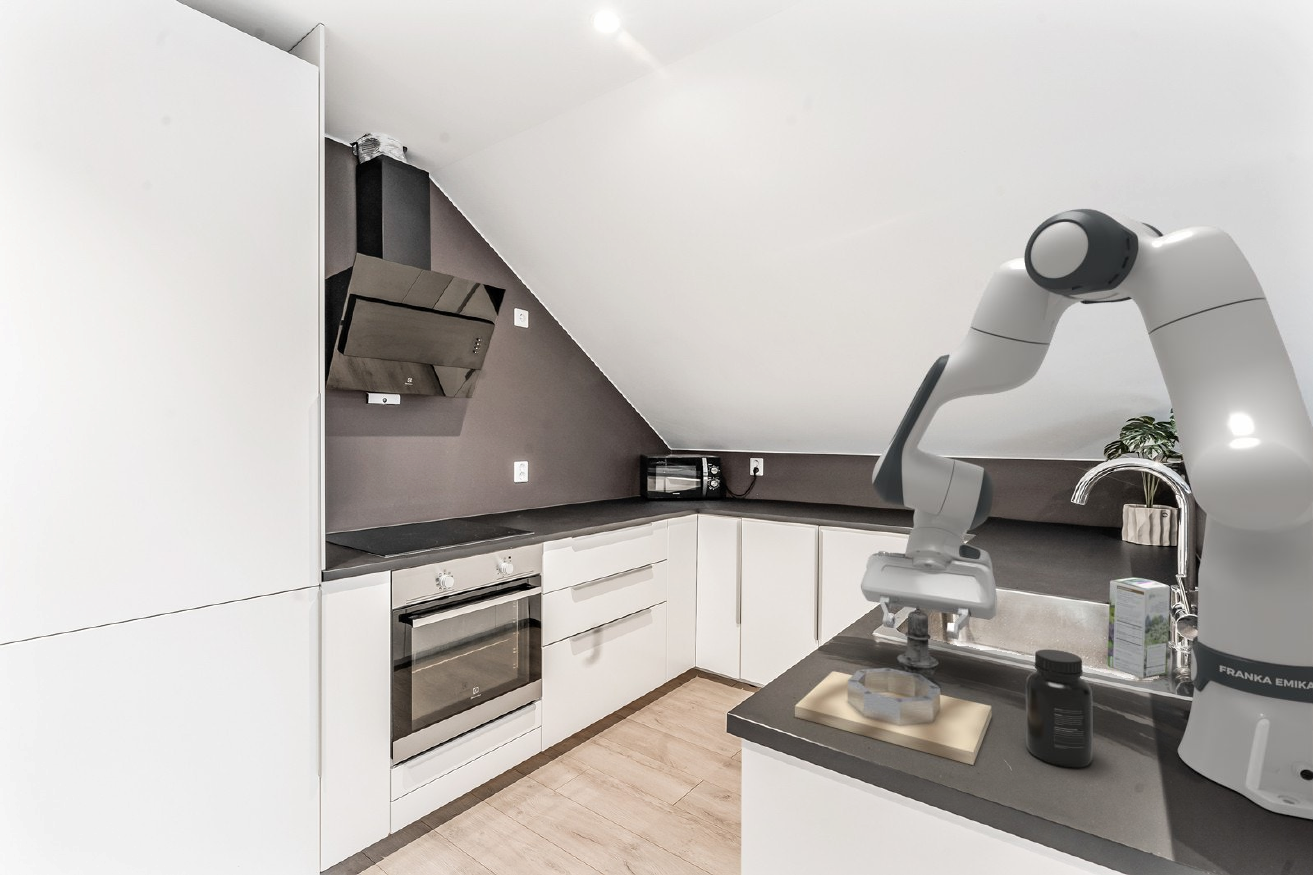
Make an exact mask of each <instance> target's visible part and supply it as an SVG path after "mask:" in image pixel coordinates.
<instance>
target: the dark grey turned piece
mask: <svg viewBox="0 0 1313 875" xmlns="http://www.w3.org/2000/svg"><path fill="white" fill-rule="evenodd" d="M915 609H916V610H913V611H910V612H909V613H908V615H907V631H906V632H905V633H904V635H905V637H906V639H907V640H906V642H907V643H906V651H905V653H901V654H899V655H898V656H897V658H896V659H897V661H898V662H899V663H898V664H899V668H900V669H901V670H900V671H905V672H909V673H914V674H919V675H922V676H923V677H925V678H926V679H928V680H929V681H931V682H932V683H934V684H935V685H937V683H936V682H935V681H934V680H933V679H931V677H932V676H933V675H935V672H936V670H937V667H938V666H939V661H938V660H937V659H936V658H934V657H933V656H931V655H930V651H929V640H930V639H931V635H930V634H929V616H928V615H927V614H926V613H925V612H923V611H922V610H921V609H920V607H919V606H917V607H916V608H915Z"/></svg>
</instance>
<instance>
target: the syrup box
mask: <svg viewBox="0 0 1313 875" xmlns="http://www.w3.org/2000/svg"><path fill="white" fill-rule="evenodd" d="M1170 593H1171V587H1170V586H1169V585H1168V584H1164V583H1161V582H1160V581H1159V582H1158V581H1156V580H1151V579H1146V578H1141V577H1128V578H1121V579H1112V580H1110V582H1109V604H1108V606H1109V610H1108V635H1107V636H1108V640H1107V641H1108V642H1107V666H1108V667H1109V668H1111V669H1114V670H1116V671H1119V672H1123V673H1124V674H1127V675H1132V676H1134V677H1137V678H1141V679H1142V680H1143V679H1149V678H1153V677H1158V676H1159V677H1160V676H1162V675H1163V676H1164V675H1166V674H1167V673H1168V657H1169V656H1168V652H1169V651H1168V650H1169V630H1170V629H1169V624H1170V622H1169V619H1170V600H1171V598H1170Z"/></svg>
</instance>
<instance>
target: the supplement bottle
mask: <svg viewBox="0 0 1313 875" xmlns="http://www.w3.org/2000/svg"><path fill="white" fill-rule="evenodd" d="M1034 658H1035V659H1034V660H1035V662H1034V669H1035V670H1036V671H1033V672H1031V673H1030V674H1028V676H1027V677H1026V679H1025V741H1026V747H1027V750H1028V751H1029V752H1030V753H1031V755H1033V756H1034V757H1036V759H1037V758H1038V759H1039V760H1042V761H1043V762H1046V763H1049V764H1052V765H1054V766H1055V765H1056V766H1060V767H1065V768H1084V767H1086V766H1088V765H1090V764H1091V763H1092V760H1093V753H1094V752H1093V747H1094V746H1093V745H1094V743H1093V742H1094V738H1093V729H1094V727H1093V713H1094V712H1093V711H1094V710H1093V690H1092V688H1091V686H1090V685H1089V683H1088V682H1087V681H1085V680H1084V679H1083V678H1082V676H1083V659H1082V658H1081V657H1080V656H1079V655H1077V654H1075V653H1072V652H1068V651H1065V650H1060V649H1050V648H1049V649H1048V648H1047V649H1039V650H1037V651H1036V650H1035V654H1034Z"/></svg>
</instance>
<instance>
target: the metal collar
mask: <svg viewBox="0 0 1313 875" xmlns="http://www.w3.org/2000/svg"><path fill="white" fill-rule="evenodd" d="M883 692H890V693H895V694H899V695H903V696H908V698H895V697H891V696H886V695H882V694H878V693H883ZM940 695H941V687H940V686H938V685H937V684H936V685H935V684H934V683H932V682H931V681H929V680H928V679H926V678H925V677H923V676H922V675H919V674H914V673H909V672H905V671H902V670H900V669H895V668H890V667H883V668H880V667H879V668H869V669H857V671H855V673H853V676H852V677H851V678H850V679H849V680H848V703H849V704H850V705H851V706H852V707H854V708H855V709H856V710H857V711H858V712H859V713H860V714H861V715H862V716H864V717H867V718H871V719H874V720H878V721H882V722H886V723H890V724H894V725H898V726H906V725H917V724H927V723H933V722H934V720H935V718H936V716H937V715H938V713H939V711H940Z"/></svg>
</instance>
